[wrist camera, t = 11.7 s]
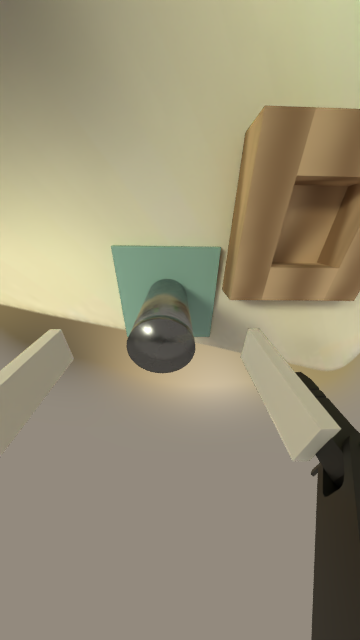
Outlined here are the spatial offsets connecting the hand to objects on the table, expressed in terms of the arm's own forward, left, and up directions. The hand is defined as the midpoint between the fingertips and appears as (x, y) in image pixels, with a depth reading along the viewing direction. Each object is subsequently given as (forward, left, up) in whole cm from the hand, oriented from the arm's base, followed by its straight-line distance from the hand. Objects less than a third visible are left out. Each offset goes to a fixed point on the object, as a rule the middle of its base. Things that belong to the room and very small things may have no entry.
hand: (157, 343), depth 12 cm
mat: (0, 0, -10) cm, 10 cm away
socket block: (+14, +8, -10) cm, 19 cm away
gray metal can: (0, 0, -10) cm, 10 cm away
